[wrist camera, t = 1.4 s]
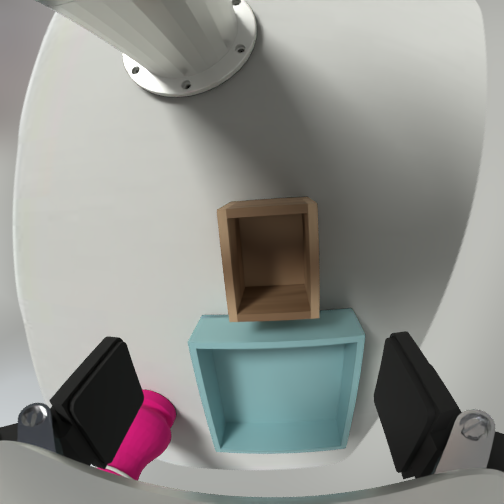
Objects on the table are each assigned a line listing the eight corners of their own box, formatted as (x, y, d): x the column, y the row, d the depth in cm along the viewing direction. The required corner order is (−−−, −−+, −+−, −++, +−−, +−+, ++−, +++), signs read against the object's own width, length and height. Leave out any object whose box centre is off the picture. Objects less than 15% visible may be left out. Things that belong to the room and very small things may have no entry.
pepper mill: (187, 404, 31) (133, 546, 12) (171, 432, 33) (123, 551, 14) (134, 376, 31) (52, 503, 11) (124, 407, 32) (59, 517, 13)
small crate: (231, 201, 24) (216, 209, 19) (307, 196, 24) (317, 203, 18) (239, 290, 26) (229, 322, 21) (310, 287, 26) (319, 318, 20)
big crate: (202, 315, 27) (187, 342, 23) (351, 308, 26) (365, 334, 21) (222, 421, 31) (215, 451, 26) (339, 417, 30) (345, 448, 25)
